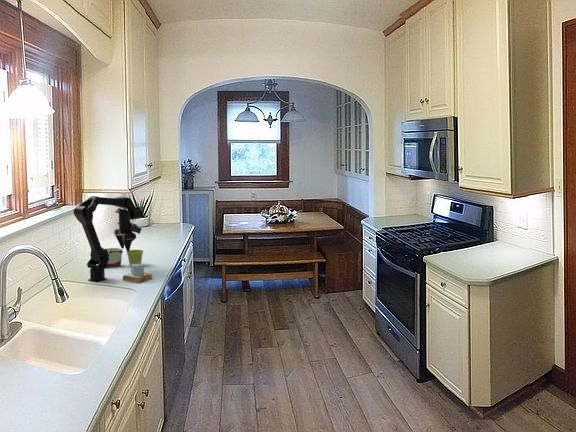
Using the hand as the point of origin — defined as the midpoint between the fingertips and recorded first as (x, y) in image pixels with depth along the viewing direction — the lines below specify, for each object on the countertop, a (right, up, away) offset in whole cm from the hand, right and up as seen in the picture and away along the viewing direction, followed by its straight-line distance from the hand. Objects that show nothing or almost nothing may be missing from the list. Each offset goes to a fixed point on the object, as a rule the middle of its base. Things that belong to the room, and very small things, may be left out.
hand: (125, 249), depth 270 cm
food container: (-13, -11, +15) cm, 22 cm away
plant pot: (0, -11, +17) cm, 20 cm away
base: (+10, -14, -12) cm, 21 cm away
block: (+10, -12, -12) cm, 20 cm away
